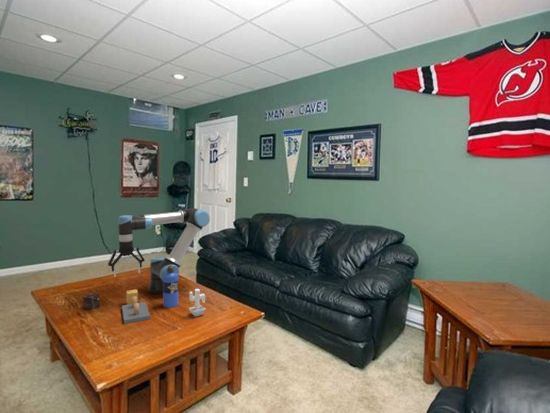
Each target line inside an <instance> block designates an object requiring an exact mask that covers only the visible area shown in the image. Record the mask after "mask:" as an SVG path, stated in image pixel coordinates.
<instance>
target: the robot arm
mask: <svg viewBox="0 0 550 413" xmlns="http://www.w3.org/2000/svg"><path fill="white" fill-rule="evenodd" d="M210 220H211V218H210V214H209V212H208V211H206V210H204V209H202V208H200V209H199V208H194V207H192V208H187V209H179V210H178V211H171V212H161V213H152V214H141V215H140V214H139V215H136V214H135V215H134V214H133V215H129V214H128V215H126V214H123V215H120V216H118V221H117V222H118V241H119V242H118V246H119V247H118V248H119V249H113V252H112V255H111V257H110V259H109V261H108V263H107V264H108V266H109V267H111V272H113V276H114V278H116V277H117V276H116V275H117V274H116V272H117V271H116V264H117V263H118V262H119V260H120V259H122V257H128V256H132V257H133V258H134V260H137V272H138V274H141V268H142V267H143V262H145V258H144V256H143V255H142V253H141V252H140V249H139V247H138V246H136V247H134V242H133V231H139V230H140V231H142V230H149V229H152V227H153V226H155V225H157V226H158V225H164V224H165V225H166V224H173V223H180V224H186V227H185V228H184V230H183V232H182V233H181V235H180V237H179V239H178V240H177V242H176V243H175V245H174V247H173V248H172V250H171V251H170V253H169V255H168V256H160V257H154V258H151V259H150V263H149V266H150V267H149V270H150V272H149V273H150V275H149V276H150V281H149V284H148V287H147V291H148V293H151V294H161V293H162V294H163V289H164V285H163V275H164V274H166V273H167V269H168V268H167V267H168V266H170V265H172V266H173V267H174V268H173V269H174V273H177V274H178V276H179V275H180V267H181V266H182V265H181V261H182V260H183V258H184V256H185V254H186V252H187V251H188V249H189V247H190V246H191V245H192V242H193V241H194V240H195V237H196V235H197V234H198V232H200V231H202V229H203V227H205V226H208V224H209V223H210V222H211V221H210ZM134 251H135V252H136V253H137V254H138V255H139V257H140V258H139V257H138V256H137V255H136V254H134V253H133V252H134ZM118 253H119V255H118V256H117V257H116V254H118ZM114 258H115V259H114Z"/></svg>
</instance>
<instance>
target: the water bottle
mask: <svg viewBox="0 0 550 413" xmlns="http://www.w3.org/2000/svg"><path fill="white" fill-rule="evenodd" d="M167 268H168V269H167V273H166V274H164V275H163V285H164V289H163V293H162V303H163V304H162V306H163V307H164V308H165V309H166V308H168V309H172V308H175V307H176V308H177V307H178V306H179V287H178V284H179V275H178V274H177V273H174V269H173V268H174V267H173V266H172V265H170V266H168V267H167Z"/></svg>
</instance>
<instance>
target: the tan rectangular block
mask: <svg viewBox="0 0 550 413" xmlns="http://www.w3.org/2000/svg"><path fill="white" fill-rule="evenodd" d="M125 293H126V305H129V304H132V297H134V296H137V303H139V293H138V289H131V290H130V289H129V290H126V292H125Z"/></svg>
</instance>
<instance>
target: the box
mask: <svg viewBox="0 0 550 413" xmlns="http://www.w3.org/2000/svg"><path fill="white" fill-rule="evenodd" d="M82 300H83V301H82V303H83V309H84V308H86V309H85V310H94V309H95V307H96V308H98V307H100V294H97V293H89V294H87V295H85V296H83V297H82ZM97 306H98V307H97ZM93 308H94V309H93Z"/></svg>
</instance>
